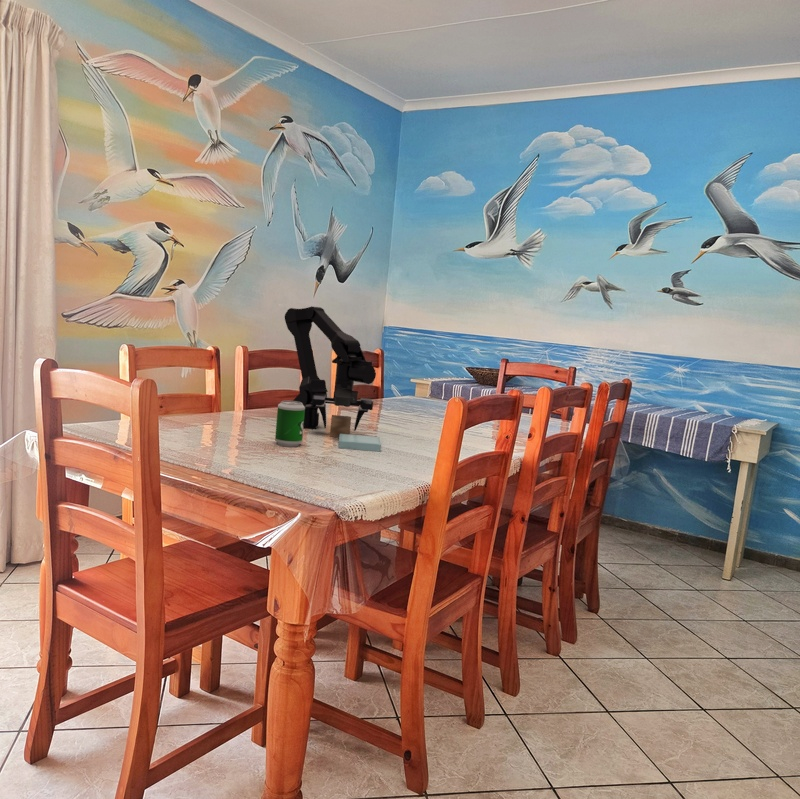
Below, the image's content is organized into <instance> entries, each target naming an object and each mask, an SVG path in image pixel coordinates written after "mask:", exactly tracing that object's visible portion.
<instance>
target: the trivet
mask: <svg viewBox="0 0 800 799" xmlns="http://www.w3.org/2000/svg"><path fill="white" fill-rule="evenodd" d="M337 447H338V449H346V450H355V451H356V450H357V451H369V452H377V453H378V452H379V453H380V452H381V448H382V442H381V437H380V436H373V435H361V434H351V433H350V434H340V436H339V438H338V446H337Z"/></svg>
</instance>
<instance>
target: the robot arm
mask: <svg viewBox="0 0 800 799" xmlns="http://www.w3.org/2000/svg"><path fill="white" fill-rule="evenodd" d="M284 321H285V324H286V327H287V330H288V331H289V332H290V334H291V335H292V336H293V338H294V343H295V349H296V355H297V359H298V364H299V370H300V374H301V382H300V384H299V387H298V391H299V393H298V395H297V396H295V398H294V399H293V400H292V401H297V402H301V403H303V405H304V406H305V415H304V427H303V429H317V428H318V427H319V422H320V415H321V418H322V422H323V426H324V429H327V404H329V405H334V406H336V407H339V406H341V407H345V408H349V407H351V406H352V407H358V409H357V414H356V417H355V422H354V429H353V431H354V432H355V431H356V430H357V428H358V426H359V424H360V421H361V420H362V417H363V415H364V414H365V413H369V411H373V410H374V409H373V408H374V401H373V400H372V398H365V397H360V400H358V393H359V392H358V391H357V390H354V383H355V382H356V383H360V384H365V385H371V384H372V383H373V382H374V381H375V379H376V376H377V372H376V369H375V367H374V366H373V361H371V360H367V359H366V357H365V355H364V352H363V350H362V347H361V343H360V341H359V340H357V339H356V338H355V337H354V336H352V335H350V334H348V333H346V332H344V331H343V330H342V329H341V328H340V327H339V326H338V324H336V323H335V321H334V320H332V318H331V317H330V316H329V315H328V314H327V313H326V312H325V309H324V308H323V307H320V306H309V307H308V306H307V307H302V308H294V307H290V308H289V309H287V311H286V312H285V314H284ZM313 323H314V324H315V325H316V327H317V328H318V329H319V330H320V331H321V332H322V333H323V335H324V336H325V337H326V338H327V339H328V340H329V341H330V344H331V349H332V350H333V352H334V353H335V355H336V357H335V358H334V359H333V360H331V363H332V364H336V370H335V381H334V389H333V390H334V391H333V396H332V397H328V396H327V395H328V392H329V391H328V389H327V385H326V380H325V379H320V378H319V375H318V372H317V368H316V362H315V357H314V351H313V347H312V343H311V337H310V333H311V330H312V328H313V327H312V326H313Z"/></svg>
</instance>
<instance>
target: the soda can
mask: <svg viewBox="0 0 800 799" xmlns="http://www.w3.org/2000/svg"><path fill="white" fill-rule="evenodd" d="M276 410H277V414H276V425H275V435H274V438H275V439H274V440H275V442H276V443H277V445H279V446H281V447H289V448H291V447H292V448H295V447H298V446H300V444H302V443H303V437H304V428H303V427H304V415H305V406H304V405H303V403H301V402H297V401H293V400H282V401H280V403H278V405H277V409H276Z"/></svg>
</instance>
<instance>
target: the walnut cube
mask: <svg viewBox="0 0 800 799" xmlns="http://www.w3.org/2000/svg"><path fill="white" fill-rule="evenodd" d="M351 421H352V416H350V415H340V414H339V415H336V414H332V415H331V419H330V429H329V437H330V438H336V439H337V438H338V439H339V436H340V434H351V423H352V422H351Z"/></svg>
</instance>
